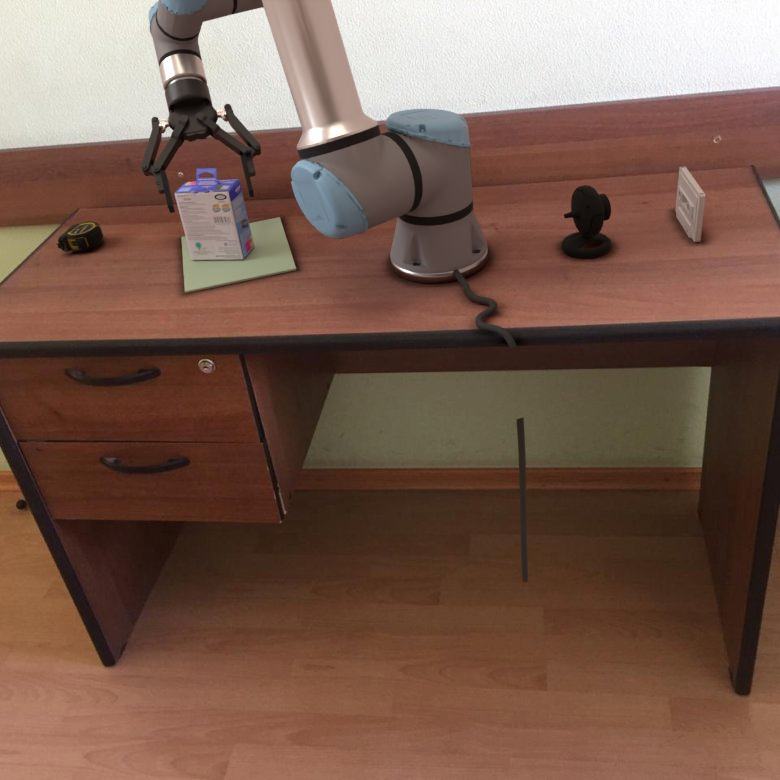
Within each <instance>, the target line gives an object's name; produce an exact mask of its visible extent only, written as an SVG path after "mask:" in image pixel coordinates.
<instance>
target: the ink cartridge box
mask: <svg viewBox="0 0 780 780" xmlns="http://www.w3.org/2000/svg"><path fill="white" fill-rule="evenodd" d="M205 173H209V174H212V175H213V176H212V177H201V175H203V174H205ZM195 178H196V179H195V181H186V182H185V183H183V184H182V185H181V186H180V187H179V188H178V189H177V190H176V191H175V192H174V193H173V195H174V198H175V202H176V205H177V209H178V213H179V217H180V220H181V225H182V229H183V232H184V236H186V240H187V244H188V248H189V252H190V256H191V260H242V259H244V258H245V257H246V256H247V255H248V254H249V252H250V251H251V250H252V249H253V248H254V242H253V238H252V234H251V230H250V225H249V223H250V221H249V215H248V212H247V208H246V202H245V199H244V194H243V189H242V185H241V180H240V178H236V179H235V178H234V179H218V168H217V167H206V168H205V167H204V168H203V167H200V168H199V167H197V168H196V175H195Z"/></svg>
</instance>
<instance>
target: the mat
mask: <svg viewBox="0 0 780 780" xmlns="http://www.w3.org/2000/svg"><path fill="white" fill-rule="evenodd" d="M249 225H250V230H251V234H252V238H253V242H254V248H253V249H252V250H251V251H250V252H249V254H248V255H247V256H246V257H245V258H244V259H242V260H191V256H190V252H189V248H188V244H187V240H186V236H185V235H183V236H181V254H182V268H183V269H182V270H183V285H184V286H183V287H184V294H189V293H194V292H199V291H200V292H201V291H205V290H208V289H214V288H219V287H224V286H228V285H233V284H239V283H243V282H248V281H252V280H253V281H254V280H256V279H257V280H258V279H262V278H267V277H271V276H276V275H281V274H286V273H290V272H295V271H297V266H296V263H295V260H294V258H293V253H292V251H291V247H290V245H289V241H288V239H287V236H286V232H285V229H284V226H283V222H282V219H281V216H279V217H273V218H268V219H264V220H263V219H262V220H259V221H254V222H249Z"/></svg>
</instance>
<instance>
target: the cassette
mask: <svg viewBox="0 0 780 780" xmlns="http://www.w3.org/2000/svg"><path fill="white" fill-rule="evenodd" d="M677 180H678V181H677V189H676V190H677V191H676V198H675V199H676V201H675V213H676V215H675V217H676V219H677V220H678V222H679V224H680V225H681V227H682V229H683V230H684V232H685V233H686V235H687V237H688V238H689V239H692V241H693V243H700V242H701V240H702V232H703V222H704V213H705V204H706V198H707V197H706V196H707V195H706V194H705V191H704V190H703V189H702V187H701V186H700V184H698V182H697V181H696V179H695V178H694V176H693V175H692V173H691V172H690V171H689V169H688V168H687V166H686V165H685V166H679V169H678V179H677Z"/></svg>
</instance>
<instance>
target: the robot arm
mask: <svg viewBox="0 0 780 780" xmlns="http://www.w3.org/2000/svg"><path fill="white" fill-rule="evenodd" d="M261 8H262V9H264V13H265V15H266V19H267V23H268V25H269V28H270V31H271V34H272V38H273V42H274V44H275V48H276V51H277V54H278V58H279V60H280V64H281V66H282V70H283V72H284V75H285V76H284V77H285V79H286V83H287V85H288V89H289V92H290V95H291V98H292V101H293V105H294V107H295V111H296V113H297V117H298V120H299V123H300V127H301V130H302V132H301V136H300V138H299V141H298V143H297V145H296V151H297V154H298V157H299V161H297V162H296V163H295V165H293V167H292V168H291V172H290V179H291V182H290V183H291V184H290V185H291V189H292V192H293V195H294V198H295V199H296V203H297V204H298V206H299V208H300V211H301V212H302V213H303V215H304V217H305V218H306V220H307V221H308V222H309V223H310V224H311V226H313V227H314V228H315V229H316V230H317V231H318V232H319V233H320V234H322V235H323V236H325V237H327V238H330V239H333V240H343V239H347V238H349V237H351V236H355V235H361V234H364V233H366V232H367V231H368V230H370V229H372V228H375V227H377V226H380V225H383V224H385V223H388V222H390V221H392V220H394V219H397V220H396V223H395V228H394V233H393V238H392V243H391V248H390V254H389V256H390V258H389V259H390V265H391V269H392V271H393V272H394V273H395V274H396V275H397V276H399V277H400V278H402V279H404V280H408V281H411V282H415V283H423V284H439V283H446V282H447V283H448V282H453V281H457V282H458V283H459V285H460V286H461V287H462V289H463V292H464V293H465V295H466V296H467V298H469V299H470V300H471V301H472V302H474V303H476V304H481V305H486V306H489V307H487V308H485V309H484V310H482V311H481V312H479V313H478V314H477V315H476V317H475V318H474V321H475V325H476V326H477V328H479V329H480V330H482V331H486V332H491V333H495V334H497V335H498V336H501V337H502V338H503V339H504V340H505V342H506V344H507V345H508V348H510V349H516V348H517V347H518V346H517V343H516V340H515V339H514V337H513V336H512V334H511V333H510V332H509V331H508V330H507V329H505V328H504V327H502V326H499V325H496V324H493V323H487V322H485V321H483V320H485V319H487V318H488V317H489V316H491V315H493V314H494V313H495V312H496V311H497V309H498V303H497V301H496V300H494V298H491V297H486V296H482V295H478V294H476V293H475V292H474V291H473V290H472V288H471V286H470V285H469V282H468V281H467V280H466V278H467V277H469V276H471V275H473V274H476V273H477V272H479V271H480V270H481V269H482V268H484V267H485V265H486V264H487V262H488V260H489V250H488V249H489V247H488V243H487V240H486V238H485V235H484V232H483V230H482V228H481V226H480V222H479V220H478V218H477V215H476V214H475V209H474V195H473V193H474V192H473V177H472V158H471V157H472V155H471V148H472V143H471V141H470V134H469V125H468V123H467V121H466V119H465V118H464V117H463V116H462V115H461V114H458V113H457V112H454V111H450V110H445V109H437V108H412V109H404V110H399V111H398V110H397V111H396V112H393V113H391V114H389V116H388V117H387V118H386V122H385V128H386V131H385V132H382V133H381V129H380V125H379V122H378V121H377V120H375V119H373V118H372V117H370V116H368V115H367V114H365V112H364V110H363V107H362V103H361V100H360V96H359V93H358V89H357V85H356V82H355V78H354V76H353V72H352V69H351V65H350V62H349V58H348V55H347V51H346V48H345V44H344V41H343V37H342V34H341V31H340V27H339V23H338V20H337V16H336V13H335V8H334V6H333V3H332V0H157V1H155V3H154V4H153V6H150V8H149V10H148V21H149V27H148V28H149V32H150V35H151V37H152V42H153V46H154V50H155V51H154V52H155V56H156V60H157V64H158V68H159V74H160V79H161V83H162V87H163V90H164V96H165V97H164V98H165V100H166V101H165V102H166V107H167V110H168V117H167V118H161V119H159V118H158V116H153V117H152V118H151V132H150V135H149V139H148V141H147V145H146V148H145V151H144V154H143V158H142V160H141V161H142V162H141V164H140V168H141V171H142V173H143V175H144V176H145V177H150V176H152V177H154V183H155V186H156V190H157V192H158V194H160V195H163V194H164V195H165V200H166V205H167V209H168V211H169V213H170V214H173V213H176V211H175V206H174V202H173V201H174V200H173V197H172V193H171V192H172V191H171V188H170V182H169V178H168V175H167V172H166V170H167V169H168V167H169V165H170V163H171V162H172V161H173V159H174V158H175V155H176V154H177V152H178V150H179V149H180V148H181V147H182V146H183V144H184V143H185V141H188V142H189V143H191V142H194V141H197V140H207V139H208V137H209V136H210V137H212V138H213V139H215V140H216V141H219V142H220V143H222V144H223V145H224V146H226V147H227V148H229V149H230V150H231V151H233V152H234V153H235V154H237V155H238V156H240V161H241V166H242V170H243V175H244V179H245V182H246V183H245V184H246V187H247V191H248V196H249V198H254V197H255V193H254V188H253V184H252V180H251V178H252V177H256V173H257V172H256V168H255V164H254V160H253V159H254V158H255V157H257V156H260V155H262V147H261V143H260V142H259V141H258V140H257V139H256V138H255V137H254V135H253V134H252V133H251V132H250V131H249V130H248V129H247V127H246V126H245V125H244V124H243V123H242V122H241V121H240V119H239V118H238V117H237V116H236V115H235V113H234V110H233V107H232V105H231V103H224V106H223V107H221V108H219V109H216V108H214V106H213V102H212V98H211V97H212V96H211V93H210V89H209V86H208V81H207V75H206V72H205V67H204V62H203V58H202V54H201V50H200V45H199V36H200V33H201V30H202V26H203V23H204V22H209V21H212V20H217V19H220V18H225V17H227V16H232V15H236V14H241V13H245V12H249V11H253V10H257V9H261ZM219 118H220V119H222V120H223V121H224V122H226V123H228V124H229V126H230V127H231V128H232V130H233V131H234V132H235V133H236V134H237V135H238V136H239V138H240V139H241V140H242V141H243V143H245V144H243V143H242V141H240V140H239V139H237V138H235V137H234V136H233V135H231V134H230V133H229V132H227V131H226V130H224V129H223V128H221V127H220V125H219V124H218V123H217V122H218V119H219ZM167 128H170V129H171V131H172V132H171V135H170V137H169V139H168V141H167V143H166V144H165V146H164V148H162V151H161V152H160V154H159V155H158V152H159V149H160V145H161V142H162V138H163V134H164V133H165V132H166V131H167ZM157 155H158V157H157ZM516 430H517V431H516V433H517V450H518V451H517V452H518V477H519V479H518V480H519V482H518V485H519V522H520V523H519V525H520V527H519V528H520V531H519V532H520V558H521V559H520V563H521V564H520V565H521V581H522V582H523V583H529V566H528V565H529V560H528V559H529V557H528V556H529V555H528V503H527V501H528V500H527V499H528V498H527V495H528V494H527V462H526V461H527V458H526V457H527V454H526V433H525V418H524V417H520V418H516Z"/></svg>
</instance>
